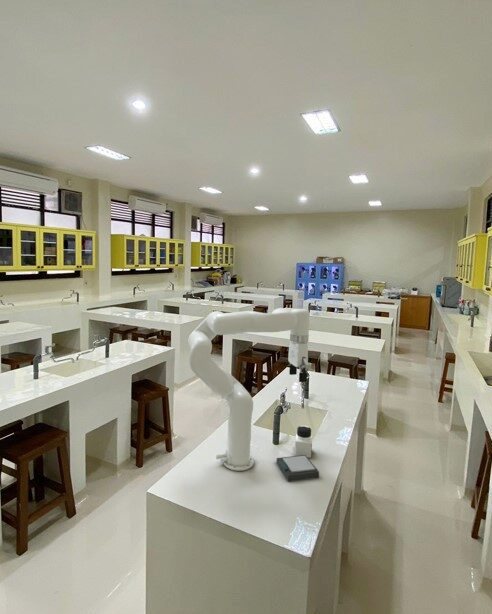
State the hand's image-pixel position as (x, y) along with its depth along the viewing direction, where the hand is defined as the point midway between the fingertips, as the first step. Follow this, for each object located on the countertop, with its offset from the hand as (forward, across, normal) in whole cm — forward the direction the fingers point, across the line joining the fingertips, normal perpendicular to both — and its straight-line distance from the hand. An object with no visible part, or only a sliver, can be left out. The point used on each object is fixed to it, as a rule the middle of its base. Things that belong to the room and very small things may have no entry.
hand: (297, 378), depth 159 cm
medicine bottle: (+36, -2, +5) cm, 36 cm away
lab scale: (+35, +10, -4) cm, 37 cm away
